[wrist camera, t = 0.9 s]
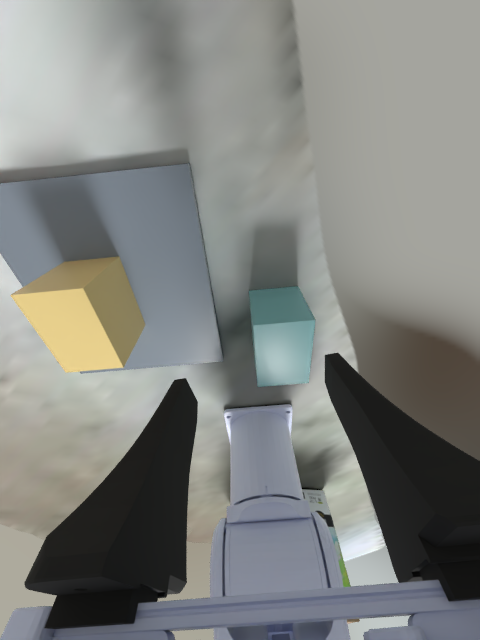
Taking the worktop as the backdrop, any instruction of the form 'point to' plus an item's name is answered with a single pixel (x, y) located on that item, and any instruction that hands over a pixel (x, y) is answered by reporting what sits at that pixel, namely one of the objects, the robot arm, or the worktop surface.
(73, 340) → the mustard brick
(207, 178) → the worktop surface
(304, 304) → the teal brick
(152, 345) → the baseplate
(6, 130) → the worktop surface
